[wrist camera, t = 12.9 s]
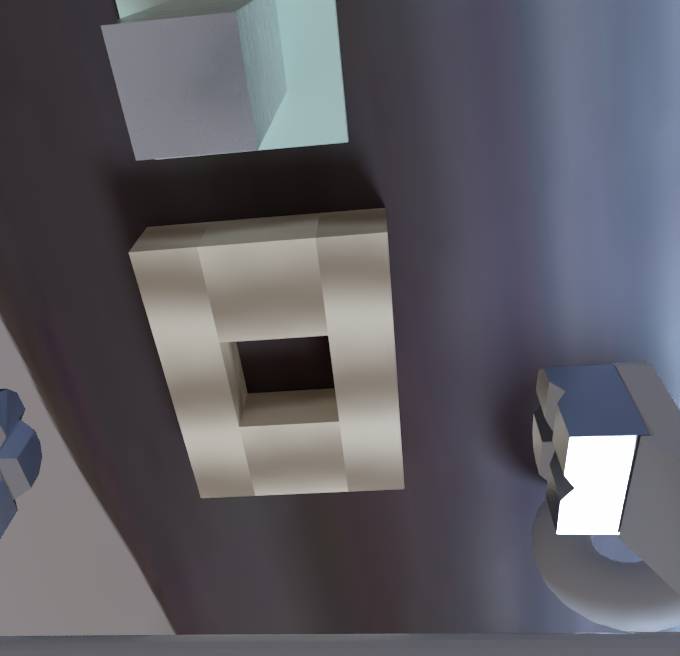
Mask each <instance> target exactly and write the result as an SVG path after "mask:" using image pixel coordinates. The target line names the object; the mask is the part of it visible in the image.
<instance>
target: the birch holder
mask: <svg viewBox="0 0 680 656" xmlns="http://www.w3.org/2000/svg"><path fill="white" fill-rule="evenodd" d="M129 256H130V259H131V263H132V266H133V269H134V273H135V276H136V279H137V283H138V286H139V290H140V293H141V296H142V300H143V303H144V307H145V310H146V313H147V317H148V320H149V323H150V327H151V330H152V334H153V337H154V340H155V344H156V347H157V351H158V354H159V357H160V361H161V364H162V367H163V371H164V374H165V378H166V381H167V384H168V388H169V391H170V395H171V398H172V401H173V405H174V408H175V411H176V415H177V418H178V422H179V425H180V428H181V432H182V435H183V438H184V442H185V445H186V449H187V452H188V455H189V459H190V462H191V466H192V469H193V472H194V476H195V479H196V482H197V486H198V489H199V493H200V496H201V498H216V497H238V496H260V495H282V494H304V493H326V492H349V491H371V490H393V489H404V476H403V461H402V446H401V431H400V416H399V401H398V385H397V370H396V355H395V340H394V325H393V310H392V295H391V280H390V265H389V249H388V234H387V219H386V208H376V209H363V210H351V211H339V212H326V213H314V214H302V215H289V216H277V217H265V218H252V219H240V220H228V221H215V222H203V223H191V224H178V225H166V226H154V227H147V228H146V229H145V231H144V232H143V233H142V235H141V236H140V237H139V239H138V240H137V242H136V243H135V244H134V246H133V247H132V248H131V250H130V251H129ZM314 336H328V338H329V346H330V354H331V362H332V369H333V377H334V385H335V388H332V389H315V390H298V391H281V392H264V393H247V388H246V383H245V379H244V374H243V370H242V365H241V360H240V356H239V351H238V347H237V341H252V340H268V339H283V338H298V337H314Z"/></svg>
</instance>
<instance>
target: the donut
mask: <svg viewBox="0 0 680 656" xmlns="http://www.w3.org/2000/svg"><path fill="white" fill-rule="evenodd" d="M595 535H596V534H557V533H556V530H555V527H554V523H553V520H552V517H551V513H550V510H549V507H548V503H547V500H545V501H544V502H543V503H542V505H541V506H540V507H539V509H538V512H537V515H536V518H535V521H534V523H533V526H532V532H531V536H532V551H533V558H534V560H535V562H536V564H537V567H538V569H539V571H540V573H541V575H542V577H543V579H544V582H545V584H546V585H547V586H548V587H549V588H550V589H551V590H552V591H553V592H554V594H555V595H556V596H557V597H558V598H559V599H560V600H561V601H562V602H563V603H564V604H565V605H566V606H568V607H569V608H571V609H573V610H574V611H576V612H578V613H579V614H581V615H583V616H584V617H586V618H588V619H589V620H591V621H593V622H594V623H598V624H601V625H605V626H608V627H612V628H615V629H618V630H622V631H636V632H657V631H661V630H664V629H668V628H672V627H675V626H679V625H680V595H679V594H678V593H677V592H675V591H674V590H673V589H672V588H671V587H670V586H669V585H668V584H667V583H666V582H665V581H664V580H663V579H662V578H661V577H660V576H659V575H658V574H657V573H656V572H655V571H654V570H652V569H651V568H650V567H649V566H648V565H647V564H646V563H645V562H644V561H640V562H636V563H623V562H618V561H614V560H610V559H608V558H607V557H605V556H603V555H601V554H599V553H598V552H597V551H596V550H595V548H594V547H593V545H592V539H593V537H594V536H595Z"/></svg>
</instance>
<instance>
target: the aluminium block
mask: <svg viewBox="0 0 680 656" xmlns="http://www.w3.org/2000/svg"><path fill="white" fill-rule="evenodd" d="M101 29H102V33H103V37H104V40H105V44H106V48H107V52H108V56H109V59H110V63H111V67H112V71H113V75H114V78H115V82H116V86H117V90H118V94H119V97H120V101H121V105H122V109H123V113H124V116H125V120H126V124H127V128H128V132H129V136H130V139H131V143H132V147H133V151H134V155H135V158H136V161H137V160H149V159H160V158H172V157H184V156H196V155H207V154H219V153H231V152H243V151H254V150H258V149H259V147H260V145H261V143H262V141H263V139H264V137H265V135H266V133H267V131H268V129H269V127H270V124H271V122H272V120H273V118H274V116H275V114H276V112H277V110H278V108H279V106H280V104H281V102H282V100H283V98H284V96H285V94H286V92H287V83H286V76H285V68H284V60H283V53H282V45H281V38H280V30H279V22H278V15H277V7H276V0H170V1H167V2H164V3H162V4H159V5H156V6H153V7H151V8H148V9H145V10H142V11H140V12H137V13H134V14H131V15H129V16H126V17H123V18H120V19H117V20H115V21H112V22H109V23H106V24H104V25H101Z"/></svg>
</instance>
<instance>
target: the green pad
mask: <svg viewBox="0 0 680 656" xmlns="http://www.w3.org/2000/svg"><path fill="white" fill-rule="evenodd" d="M167 1H170V0H116V4H117V8H118V12H119V16H120V18H123V17H126V16H129V15H131V14H134V13H137V12H140V11H142V10H145V9H148V8H151V7H153V6H156V5H159V4H162V3H164V2H167ZM276 7H277V15H278V22H279V30H280V38H281V45H282V53H283V60H284V68H285V76H286V83H287V92H286V94H285V96H284V98H283V100H282V102H281V104H280V106H279V108H278V110H277V112H276V114H275V116H274V118H273V120H272V122H271V124H270V127H269V129H268V131H267V133H266V135H265V137H264V139H263V141H262V143H261V145H260V147H259V149H258V150H268V149H279V148H290V147H302V146H313V145H324V144H335V143H346V142H348V128H347V117H346V106H345V95H344V85H343V74H342V63H341V52H340V41H339V30H338V20H337V9H336V0H276ZM254 151H257V150H254ZM243 152H246V151H243ZM231 153H235V152H231ZM219 154H224V153H219ZM207 155H212V154H207ZM196 156H201V155H196ZM184 157H190V156H184ZM172 158H179V157H172ZM160 159H168V158H160ZM156 160H157V159H156Z"/></svg>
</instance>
